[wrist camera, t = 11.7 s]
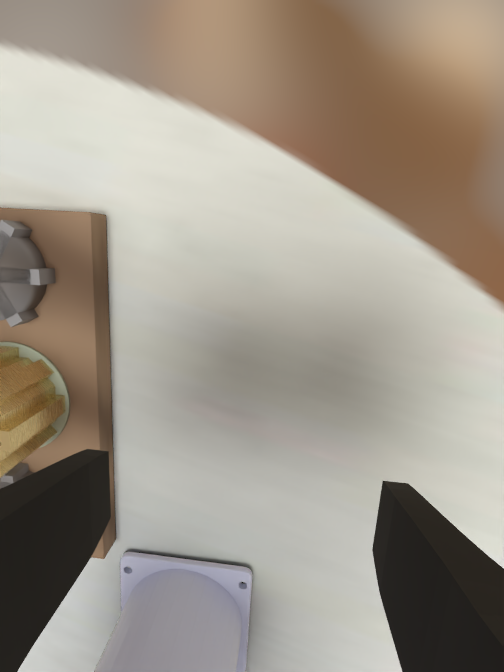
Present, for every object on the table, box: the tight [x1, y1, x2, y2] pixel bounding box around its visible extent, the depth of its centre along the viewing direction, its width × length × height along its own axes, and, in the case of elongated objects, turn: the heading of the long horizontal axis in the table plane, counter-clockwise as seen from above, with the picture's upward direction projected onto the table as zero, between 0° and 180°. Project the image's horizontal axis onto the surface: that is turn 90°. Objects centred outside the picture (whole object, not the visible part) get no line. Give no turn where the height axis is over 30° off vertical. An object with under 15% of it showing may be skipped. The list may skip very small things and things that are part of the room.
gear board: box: [0, 208, 116, 559], centre depth 19 cm, size 19×9×5 cm, turn 177°
